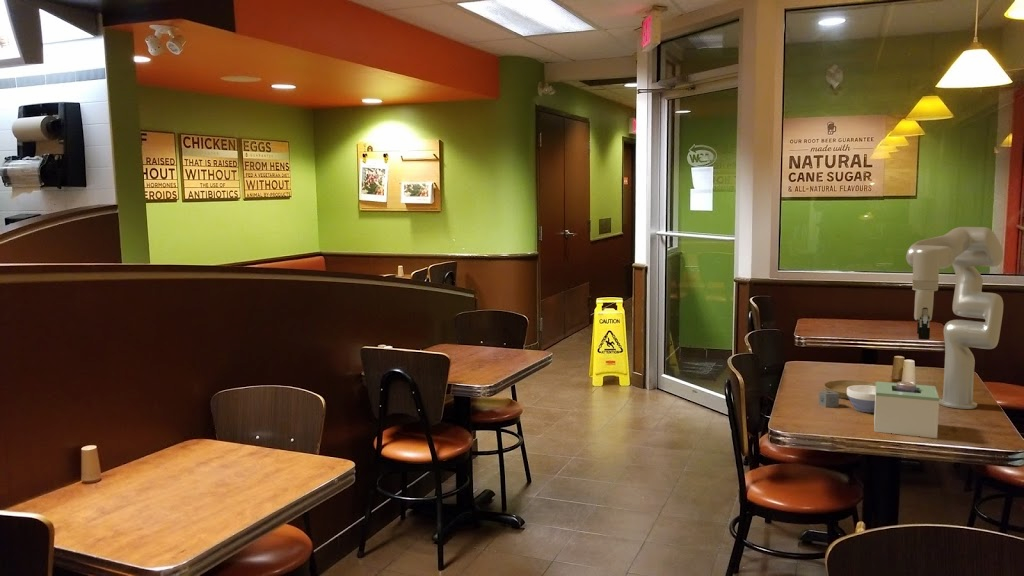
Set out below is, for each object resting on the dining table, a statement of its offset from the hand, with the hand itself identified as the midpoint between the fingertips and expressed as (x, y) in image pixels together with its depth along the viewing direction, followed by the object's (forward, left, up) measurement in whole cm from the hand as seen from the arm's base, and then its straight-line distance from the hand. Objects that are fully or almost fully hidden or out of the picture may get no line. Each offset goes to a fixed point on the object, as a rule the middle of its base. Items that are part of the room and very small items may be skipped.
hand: (923, 336), depth 258 cm
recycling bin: (+5, -5, -30) cm, 31 cm away
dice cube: (-16, -29, -30) cm, 45 cm away
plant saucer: (-39, -20, -31) cm, 53 cm away
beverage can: (+5, -4, -30) cm, 31 cm away
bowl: (-15, -16, -30) cm, 37 cm away
